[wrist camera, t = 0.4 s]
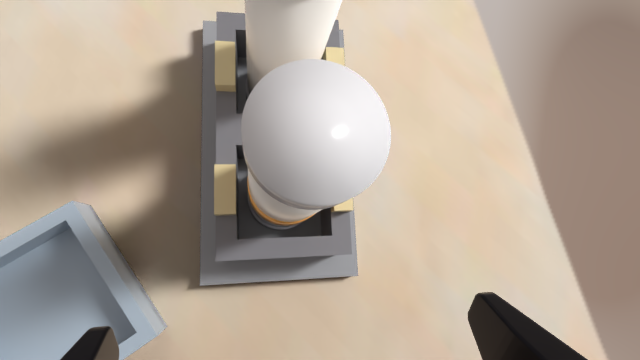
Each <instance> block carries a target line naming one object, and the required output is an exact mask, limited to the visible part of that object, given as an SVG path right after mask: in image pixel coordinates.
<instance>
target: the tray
mask: <svg viewBox="0 0 640 360" xmlns="http://www.w3.org/2000/svg"><path fill="white" fill-rule="evenodd" d="M101 326H110V327H111V328H112V329H113V332H114V335H115V338H116V341H117V343H118V346H119V360H123V359H125V358H126V357H127V356H129V355H130V354H132V353H133V352H135V351H136V350H138V349H139V348H140V347H142V346H143V345H145V344H146V343H148V342H149V341H151V340H152V339H153V338H155V337H156V336H158V335H159V334H160V333H161V332H162V331H163V330H164V329H165V328H166V327H167V325H166V323H165V321H164V320H163V318H162V317H161V315H160V314H159V312H158V310H157V309H156V307H155V306H154V304H153V303H152V301H151V299H150V298H149V296H148V295H147V293H146V292H145V290H144V288H143V287H142V285H141V284H140V282H139V281H138V279H137V277H136V276H135V274H134V273H133V271H132V269H131V268H130V266H129V265H128V263H127V262H126V260H125V258H124V257H123V255H122V254H121V252H120V251H119V249H118V247H117V246H116V244H115V243H114V241H113V240H112V238H111V236H110V235H109V233H108V232H107V230H106V229H105V227H104V225H103V224H102V222H101V221H100V219H99V217H98V216H97V214H96V213H95V211H94V210H93V208H92V206H91V205H87V204H83V203H79V202H75V201H71V202H69V203H67V204H65V205H64V206H62V207H60V208H58V209H56V210H55V211H53V212H51V213H49V214H48V215H46V216H44V217H42V218H40V219H39V220H37V221H35V222H33V223H31V224H30V225H28V226H26V227H24V228H22V229H21V230H19V231H17V232H15V233H13V234H12V235H10V236H8V237H6V238H5V239H3V240H1V241H0V360H60V359H61V358H62V357H63V356H64V355H65V354H66V353H67V351H68V350H69V349H70V348H71V347H72V346H73V345H74V344H75V343H76V342H77V341H78V340H79V339H80V338H81V337H82V335H83V334H84V333H85V332H86V331H87V330H89V329H90V328H93V327H101Z"/></svg>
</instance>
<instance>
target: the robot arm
mask: <svg viewBox="0 0 640 360" xmlns="http://www.w3.org/2000/svg"><path fill="white" fill-rule="evenodd" d="M468 321H469V324H470V327H471V330H472V332H473V335H474V338H475V340H476V343H477V346H478V349H479V351H480V354H481V357H482V359H483V360H587V359H586V358H585V357H583V356H582V355H580V354H579V353H578V352H576V351H575V350H573V349H572V348H571V347H569V346H568V345H566V344H565V343H564V342H562V341H561V340H559V339H558V338H557V337H555V336H554V335H552V334H551V333H550V332H548V331H547V330H545V329H544V328H543V327H541V326H540V325H538V324H537V323H536V322H534V321H533V320H531V319H530V318H529V317H527V316H526V315H524V314H523V313H522V312H520V311H519V310H517V309H516V308H515V307H513V306H512V305H510V304H509V303H508V302H506V301H505V300H503V299H502V298H501V297H499V296H498V295H496V294H495V293H492V292H484V293H478V294H477V295H476V296H475V298H474V300H473V302H472V305H471V307H470V309H469V311H468ZM60 360H119V346H118V343H117V341H116V338H115V335H114V332H113V329H112V328H111V327H110V326H101V327H93V328H90V329H89V330H87V331H86V332H85V333H84V334H83V335H82V337H81V338H80V339H79V340H78V341H77V342H76V343H75V344H74V345H73V346H72V347H71V348H70V349H69V350H68V351H67V353H66V354H65V355H64V356H63V357H62V358H61V359H60Z"/></svg>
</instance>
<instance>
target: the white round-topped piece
mask: <svg viewBox="0 0 640 360" xmlns="http://www.w3.org/2000/svg"><path fill="white" fill-rule="evenodd" d="M241 135H242V145H243V154H244V157H245V161H246V164H247V167H248V178H247V185H248V196H247V197H248V205H249V209H250V211H251V213H252V215H253V216H254V218H255V219H256V220H257V221H258V222H259V223H260V224H262V225H263V226H265V227H267V228H270V229H274V230H286V229H290V228H292V227H295V226H297V225H298V224H300V223H302V222H303V221H304V220H306V219H308V218H310V217H312V216H313V215H314V214H316V213H317V212H319V211H321V210H322V209H326V208H330V207H334V206H336V205H338V204H341V203H343V202H345V201H347V200H349V199H351V198H353V197H355V196H356V195H358V194H360V193H361V192H363V191H364V190H365V189H367V188H368V187H369V186H370V185H371V184H372V183H373V182H374V181H375V180H376V178H377V177H378V176H379V174H380V173H381V171H382V169H383V167H384V165H385V163H386V160H387V158H388V154H389V150H390V143H391V128H390V122H389V118H388V114H387V111H386V109H385V106H384V104H383V102H382V100H381V99H380V97H379V95H378V94H377V92H376V91H375V90H374V89H373V87H372V86H371V85H370V84H369V83H368V82H367V81H366V80H365V79H364V78H363V77H361V76H360V75H359V74H357V73H356V72H354V71H353V70H351V69H349V68H347V67H345V66H343V65H341V64H338V63H335V62H332V61H327V60H321V59H303V60H297V61H292V62H289V63H286V64H284V65H281V66H279V67H277V68H275V69H274V70H272V71H271V72H269V73H268V74H267V75H265V76H264V77H263V78H262V79H261V80H260V81H259V82H258V83H257V84H256V86H255V87H254V89H253V90H252V91H251V93H250V95H249V97H248V99H247V101H246V104H245V107H244V110H243V114H242V120H241Z"/></svg>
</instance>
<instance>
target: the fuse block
mask: <svg viewBox="0 0 640 360" xmlns="http://www.w3.org/2000/svg"><path fill="white" fill-rule="evenodd" d="M321 60H327V61H332V62H335V63H338V64H341V65H343V66H345V54H344V38H343V30H339V24H338V20H335V22H334V25H333V28H332V30H331V33H330V36H329V39H328V41H327V44H326V47H325V50H324V52H323V55H322V58H321ZM246 79H247V55H246V23H245V14H244V13H229V12H217V22H214V21H203V68H202V152H201V236H200V286H203V285H219V284H235V283H250V282H266V281H282V280H298V279H314V278H330V277H346V276H358V267H357V251H356V234H355V218H354V202H353V198H351V199H349V200H347V201H345V202H343V203H341V204H338V205H336V206H334V207H330V208H326V209H322V210H321V211H319V212H317V213H316V214H314V215H313V216H312V217H310V218H308V219H306V220H304V221H303V222H302V223H300V224H298V225H297V226H295V227H292V228H290V229H286V230H274V229H270V228H267V227H265V226H263V225H262V224H260V223H259V222H258V221H257V220H256V219H255V218H254V216H253V215H252V213H251V211H250V209H249V205H248V197H247V196H248V185H247V178H248V167H247V164H246V161H245V157H244V154H243V145H242V135H241V120H242V114H243V110H244V107H245V104H246V101H247V98H246Z"/></svg>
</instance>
